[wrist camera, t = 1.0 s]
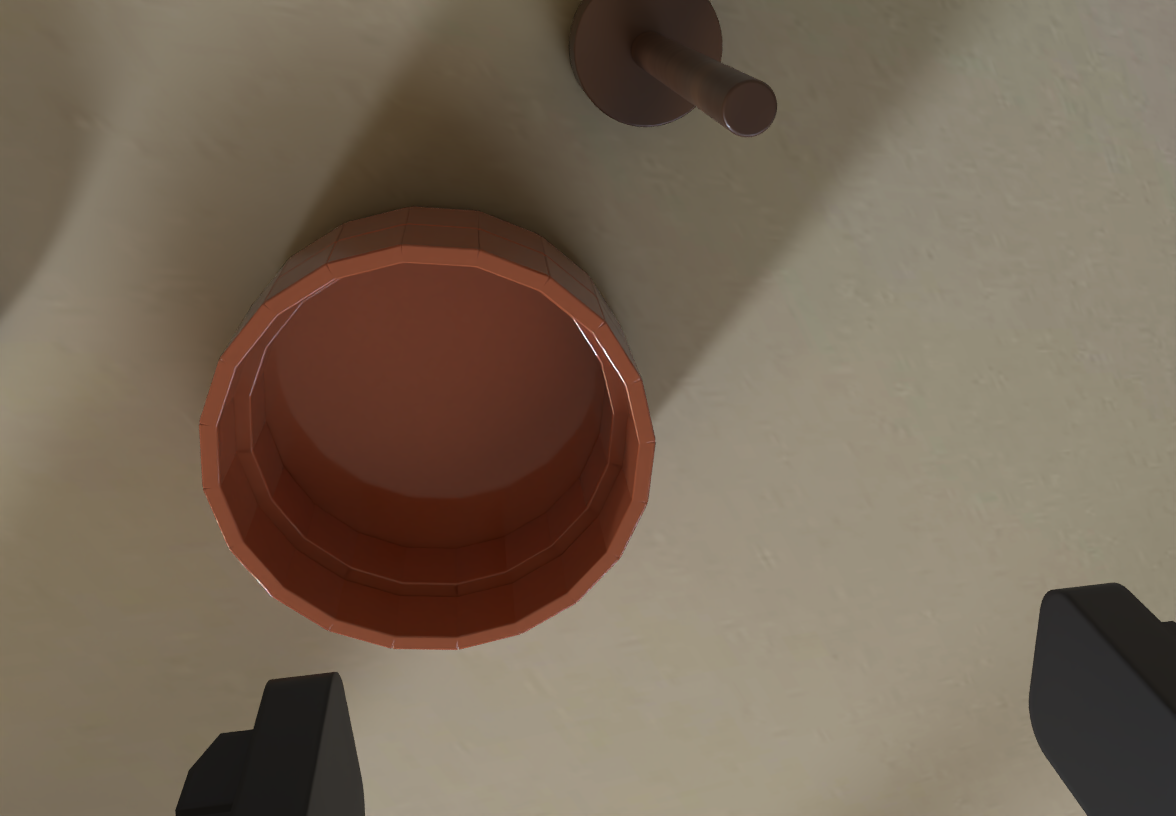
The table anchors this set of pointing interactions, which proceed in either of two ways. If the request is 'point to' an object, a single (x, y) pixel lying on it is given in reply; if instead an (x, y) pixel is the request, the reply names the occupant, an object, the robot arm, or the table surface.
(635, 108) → the brown plunger
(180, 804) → the robot arm
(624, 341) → the mixing bowl
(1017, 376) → the table surface
